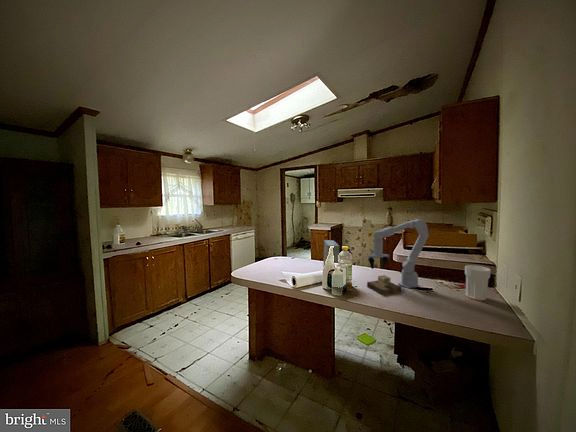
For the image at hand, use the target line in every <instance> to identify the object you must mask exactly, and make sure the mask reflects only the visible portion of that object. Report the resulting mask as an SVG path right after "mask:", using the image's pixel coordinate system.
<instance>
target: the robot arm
mask: <svg viewBox="0 0 576 432" xmlns="http://www.w3.org/2000/svg"><path fill="white" fill-rule="evenodd" d="M408 228H409V229H416V231H417V233H418V237H417V239H416V240H415V242H414V245H413V247H412V248H411V251H410V253H409V255H408V256H407V257H406V259H405V260H404V261H402V264H401V265H402V270H401V281H400V282H398V284H397V285H399V286H400V285H401V287H404V288H406V289H410V288H417V287H419V286H420V285H419V275H418V273H417V272H416V271H415V266H416V263H417V260H418V259H419V255H420V254H421V252H422V250H423V248H424V246H425V245H426V242H427V240H428V238H429V236H430V234H429V230H428V225H427V224H426V222H425V221H424V220H423V219H421V218H416V219H410V220H409V221H405V222H403V223H400V224H398V225H396V226H389V225H388V226H386V227H385V228H382V229H379V230H376V231H374V234H373V254H367V255H366V259H368V261H369V264H370V268H371V269H372V270H374V268H375V261H376V260H375V259H378V258H379V259H380V260H381V268H382V269H385V266H386V264H387V262H388V260H389V258H390V257H389V256H390V254H388V253H387V254H386V253H383V252H384V251H383V250H384V249H383V246H384V245H383V244H384V242H383V238H387V237H390V236H394V235H395V233H396V232H399V231H403V230H405V229H408Z"/></svg>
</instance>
